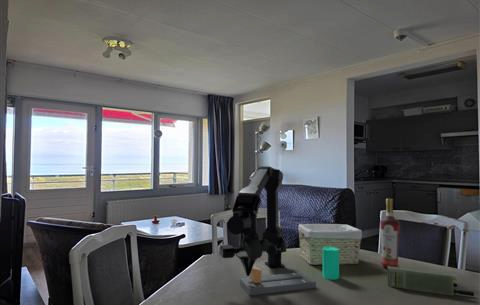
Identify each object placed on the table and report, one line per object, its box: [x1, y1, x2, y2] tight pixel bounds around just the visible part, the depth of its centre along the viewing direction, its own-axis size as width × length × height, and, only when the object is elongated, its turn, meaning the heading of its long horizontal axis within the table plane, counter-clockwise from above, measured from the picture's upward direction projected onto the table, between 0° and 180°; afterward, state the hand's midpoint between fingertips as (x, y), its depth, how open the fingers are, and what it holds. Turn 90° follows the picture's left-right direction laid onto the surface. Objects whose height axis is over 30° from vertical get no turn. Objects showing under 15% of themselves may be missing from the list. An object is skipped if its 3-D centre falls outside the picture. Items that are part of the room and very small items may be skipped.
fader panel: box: [239, 271, 317, 296], centre depth 109 cm, size 10×24×2 cm, turn 107°
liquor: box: [379, 198, 401, 270], centre depth 131 cm, size 7×7×28 cm
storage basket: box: [297, 223, 363, 266], centre depth 140 cm, size 24×16×15 cm
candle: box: [322, 247, 340, 280], centre depth 119 cm, size 6×6×12 cm
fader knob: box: [249, 265, 262, 283], centre depth 107 cm, size 4×2×4 cm, turn 17°
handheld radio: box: [387, 266, 475, 297], centre depth 107 cm, size 7×3×25 cm
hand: (247, 275), depth 106 cm, fingers closed
